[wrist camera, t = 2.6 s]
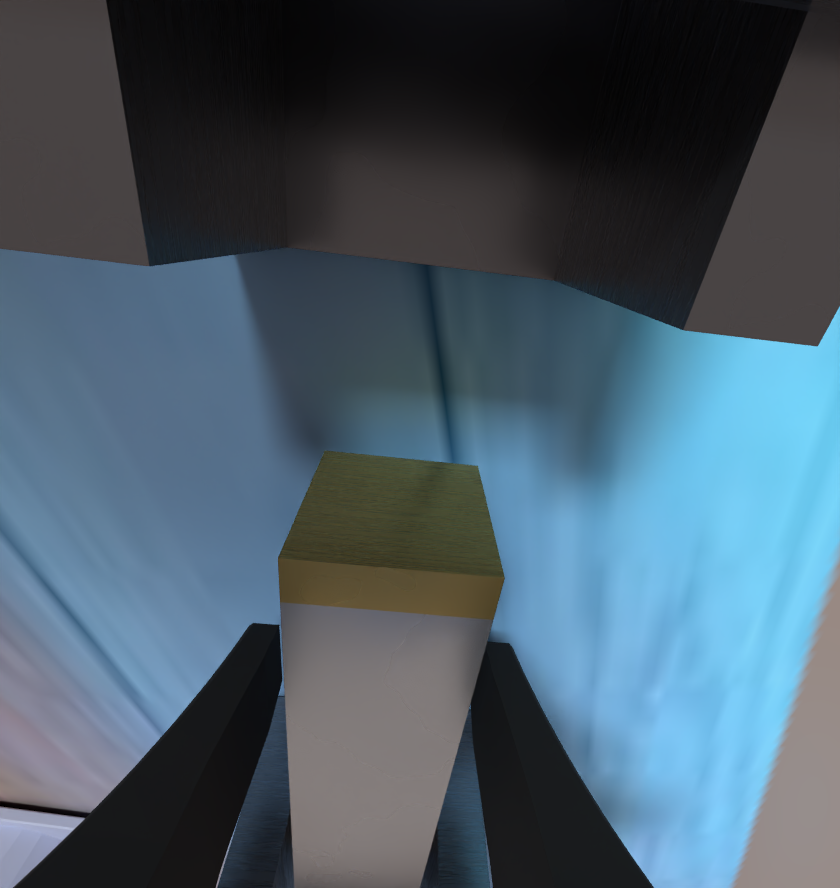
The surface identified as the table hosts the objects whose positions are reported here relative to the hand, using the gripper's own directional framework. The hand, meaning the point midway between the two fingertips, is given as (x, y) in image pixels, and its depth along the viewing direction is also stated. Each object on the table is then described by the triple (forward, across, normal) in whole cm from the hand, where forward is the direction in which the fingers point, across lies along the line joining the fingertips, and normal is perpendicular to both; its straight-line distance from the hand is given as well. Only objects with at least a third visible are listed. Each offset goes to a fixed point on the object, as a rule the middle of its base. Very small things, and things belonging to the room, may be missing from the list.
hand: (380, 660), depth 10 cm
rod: (0, 0, +4) cm, 4 cm away
